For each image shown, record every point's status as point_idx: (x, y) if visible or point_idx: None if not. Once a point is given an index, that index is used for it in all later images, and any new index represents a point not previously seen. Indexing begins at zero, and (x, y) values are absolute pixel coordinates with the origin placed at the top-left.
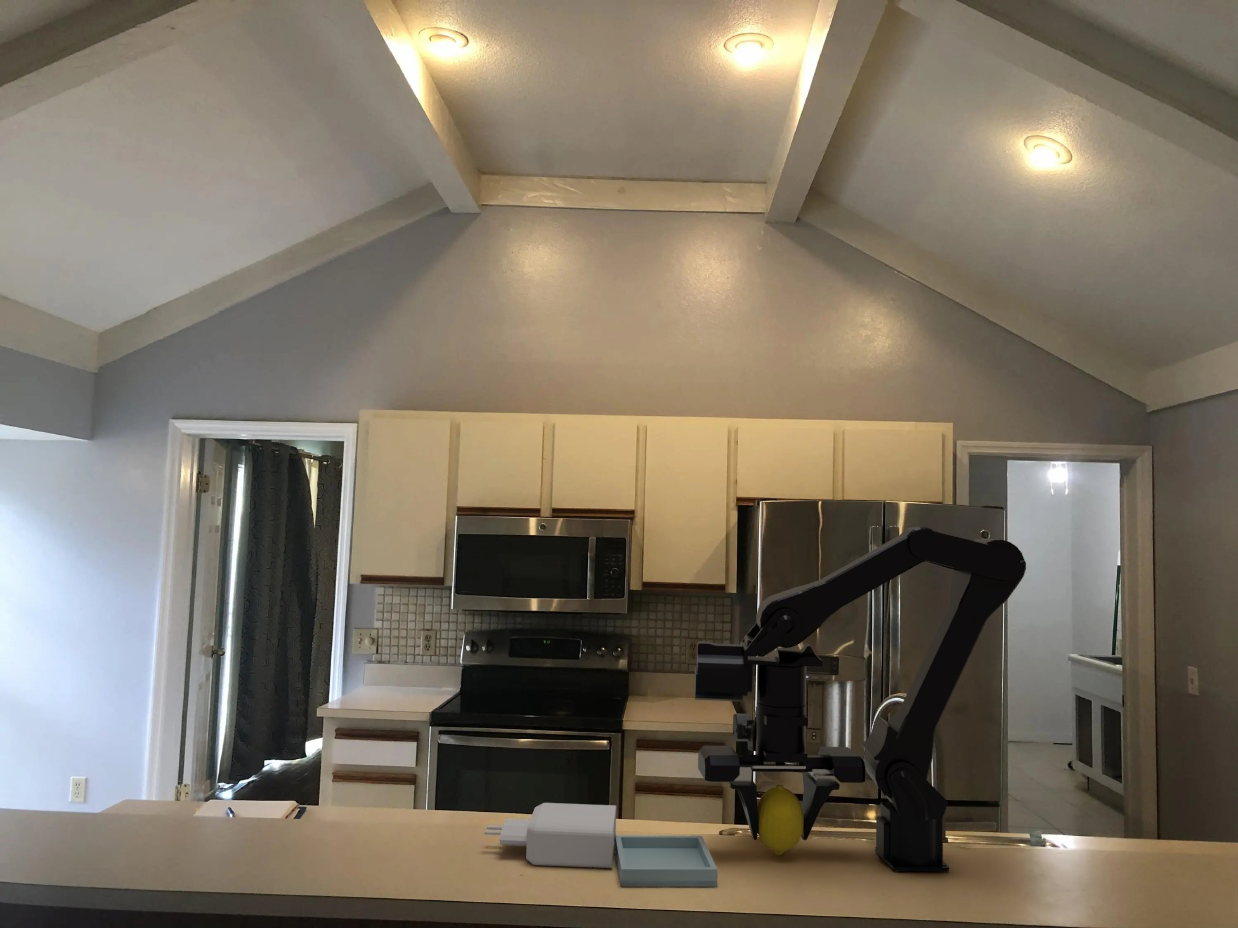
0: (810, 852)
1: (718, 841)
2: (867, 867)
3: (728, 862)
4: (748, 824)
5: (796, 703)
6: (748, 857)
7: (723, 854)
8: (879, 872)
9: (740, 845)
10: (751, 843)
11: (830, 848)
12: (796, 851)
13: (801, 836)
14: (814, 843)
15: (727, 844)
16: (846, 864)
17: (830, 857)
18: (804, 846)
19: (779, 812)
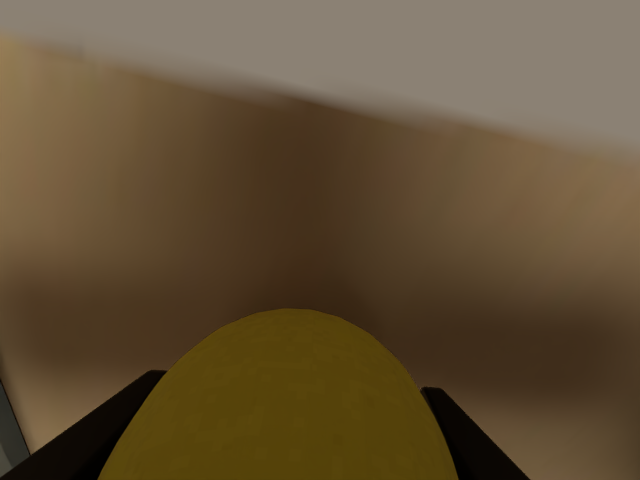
0: (452, 317)
1: (27, 155)
2: (583, 446)
3: (86, 383)
4: (91, 414)
5: None
6: (168, 347)
7: (63, 314)
8: (592, 477)
9: (144, 219)
10: (205, 195)
11: (574, 281)
12: (395, 304)
13: (421, 393)
14: (537, 215)
15: (78, 201)
16: (526, 423)
17: (507, 367)
18: (463, 250)
19: None
